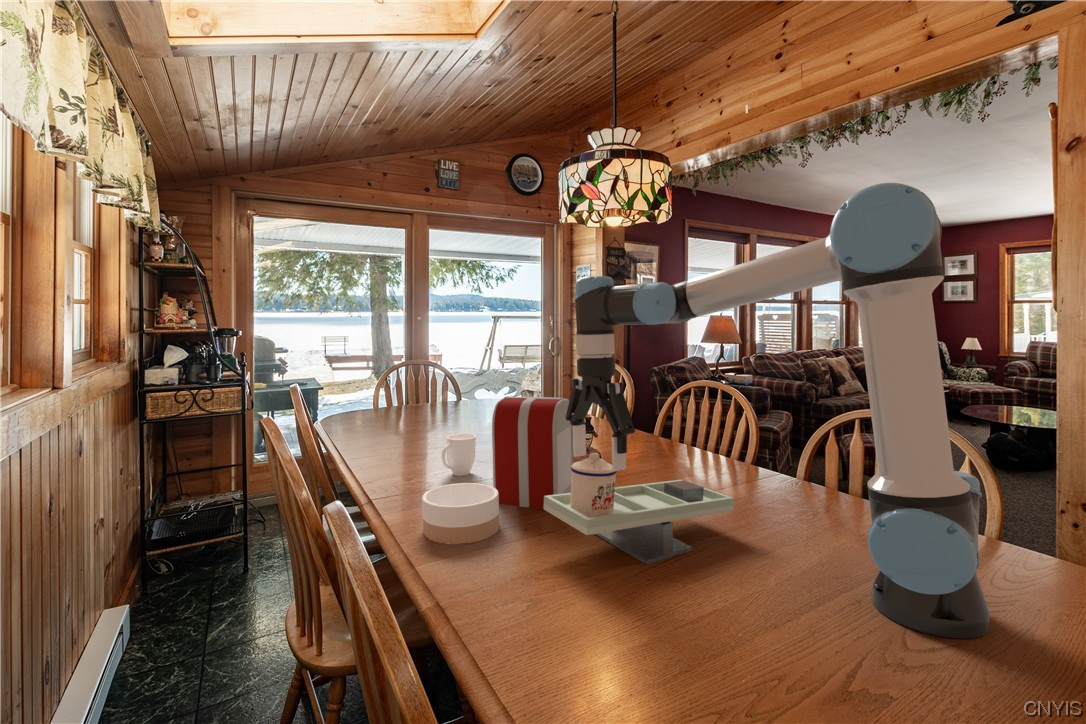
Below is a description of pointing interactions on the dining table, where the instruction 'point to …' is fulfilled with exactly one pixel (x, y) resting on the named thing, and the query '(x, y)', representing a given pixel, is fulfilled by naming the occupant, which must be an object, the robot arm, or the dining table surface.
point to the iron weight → (684, 491)
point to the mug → (460, 453)
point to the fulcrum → (647, 542)
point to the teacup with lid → (593, 486)
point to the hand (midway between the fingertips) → (598, 462)
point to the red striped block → (531, 450)
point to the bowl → (460, 513)
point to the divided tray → (638, 508)
